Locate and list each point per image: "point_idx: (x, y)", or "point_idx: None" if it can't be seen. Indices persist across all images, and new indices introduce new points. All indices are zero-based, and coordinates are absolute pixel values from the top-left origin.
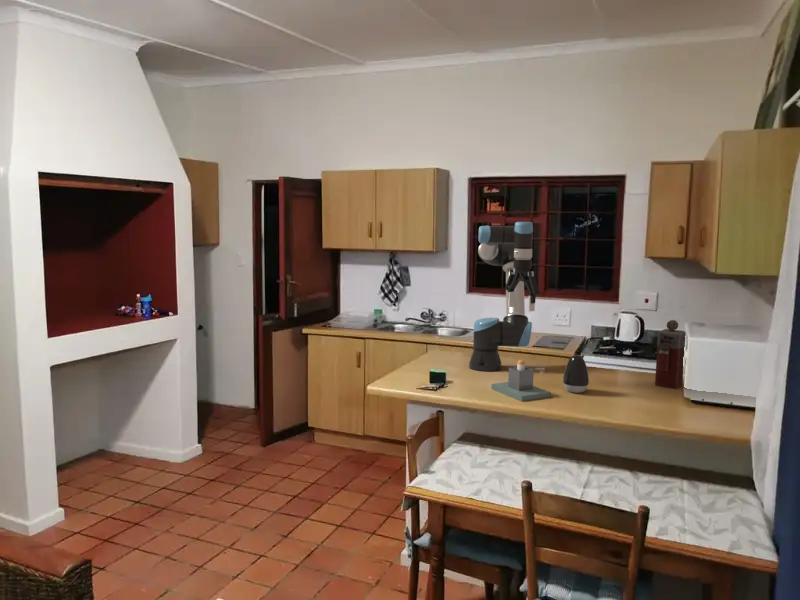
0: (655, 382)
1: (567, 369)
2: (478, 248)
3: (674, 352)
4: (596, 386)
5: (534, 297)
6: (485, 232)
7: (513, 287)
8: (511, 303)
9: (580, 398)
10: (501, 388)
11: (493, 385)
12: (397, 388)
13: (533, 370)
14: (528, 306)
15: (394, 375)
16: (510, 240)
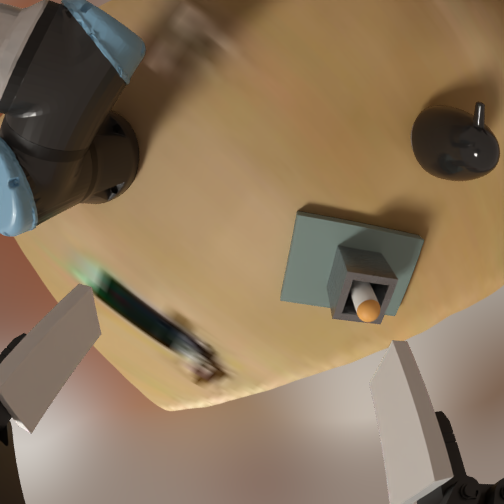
0: None
1: (454, 177)
2: None
3: None
4: (428, 53)
5: (453, 470)
6: None
7: (1, 464)
8: (80, 335)
9: (466, 188)
10: (323, 306)
11: (289, 300)
12: (183, 398)
13: (397, 278)
14: (379, 416)
15: (104, 353)
16: None
